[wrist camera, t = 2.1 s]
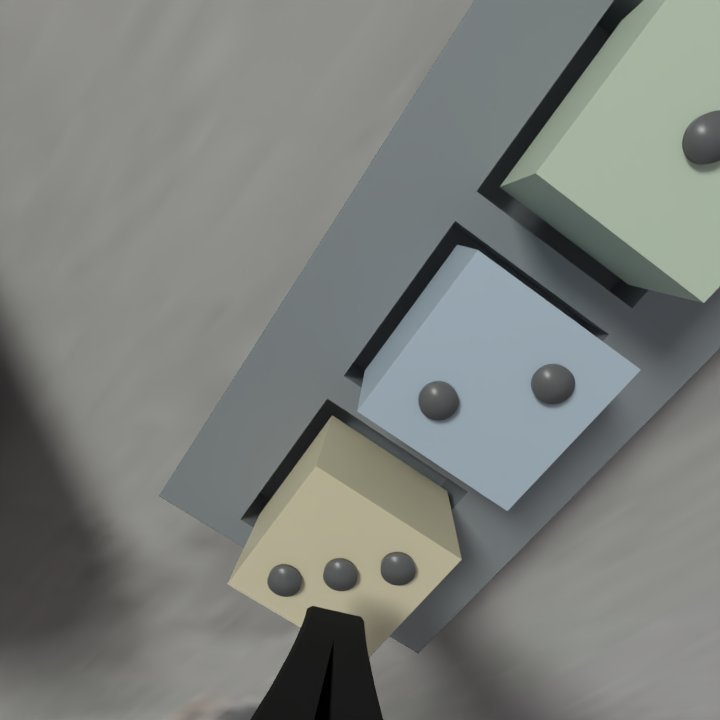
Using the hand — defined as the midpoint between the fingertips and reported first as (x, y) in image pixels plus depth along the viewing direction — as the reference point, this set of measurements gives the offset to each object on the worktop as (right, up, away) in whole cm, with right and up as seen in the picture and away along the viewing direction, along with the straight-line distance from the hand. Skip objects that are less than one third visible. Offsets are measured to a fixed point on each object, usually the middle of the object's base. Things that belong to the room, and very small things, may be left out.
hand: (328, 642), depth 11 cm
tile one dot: (+8, +13, +2) cm, 15 cm away
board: (+5, +8, +6) cm, 11 cm away
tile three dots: (0, +2, +6) cm, 6 cm away
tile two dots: (+4, +7, +4) cm, 9 cm away
